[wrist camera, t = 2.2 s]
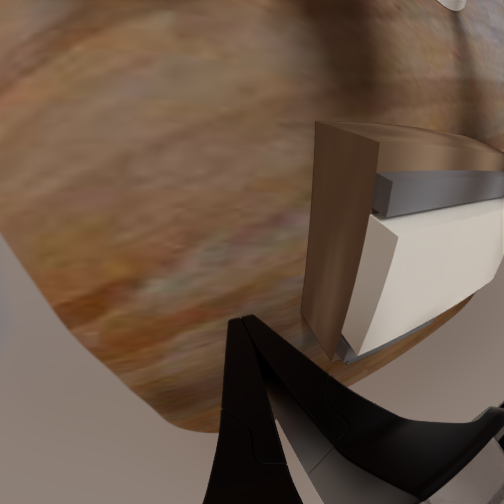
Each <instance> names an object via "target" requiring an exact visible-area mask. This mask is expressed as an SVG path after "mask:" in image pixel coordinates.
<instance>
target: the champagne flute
mask: <svg viewBox="0 0 504 504" xmlns="http://www.w3.org/2000/svg"><path fill="white" fill-rule="evenodd" d="M437 1H438V2H440V3H441V4H442V5H443V6H445V7H446V8H448V9H450V10H453V11H460V10H462V9H463V8H464V6H465V4H466V0H437Z"/></svg>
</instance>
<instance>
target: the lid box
mask: <svg viewBox="0 0 504 504" xmlns="http://www.w3.org/2000/svg"><path fill="white" fill-rule="evenodd" d="M503 196H504V152H502V151H500V150H498V149H496V148H494V147H491V146H489V145H487V144H485V143H482V142H480V141H478V140H475V139H473V138H471V137H467V136H463V135H458V134H452V133H447V132H441V131H435V130H429V129H422V128H414V127H406V126H397V125H387V124H376V123H361V122H339V121H316V124H315V152H314V172H313V189H312V204H311V218H310V230H309V241H308V252H307V262H306V272H305V281H304V290H303V298H302V306H301V314H302V315H303V317H304V318H305V320H306V322H307V323H308V325H309V326H310V328H311V330H312V331H313V333H314V334H315V336H316V338H317V339H318V341H319V342H320V344H321V346H322V347H323V349H324V350H325V352H326V354H327V355H328V357H329V358H330V360H331V362H333V361H336V360H338V359H341V361H342V362H343V363H344V362H346V361H349V360H351V359H354V358H356V357H358V356H357V354H356V353H355V352H354V350H353V349H352V347H351V346H350V344H349V343H348V341H347V340H346V339H345V337H344V336H343V334H342V333H341V332H342V328H343V325H344V322H345V318H346V315H347V311H348V308H349V304H350V300H351V297H352V293H353V289H354V285H355V281H356V277H357V273H358V268H359V264H360V260H361V255H362V251H363V246H364V241H365V236H366V231H367V226H368V221H369V215H371V214H377V213H381V214H382V215H383V216H385V217H392V216H397V215H403V214H408V213H413V212H419V211H424V210H430V209H435V208H441V207H446V206H452V205H458V204H463V203H469V202H474V201H480V200H486V199H491V198H497V197H503ZM477 291H478V290H477ZM474 293H475V292H474ZM474 293H473V294H474ZM471 295H472V294H471ZM471 295H470V296H471ZM468 297H469V296H468ZM468 297H467V298H468ZM465 299H466V298H465ZM462 301H463V300H462ZM460 302H461V301H460ZM460 302H459V303H460ZM457 304H458V303H457ZM457 304H456V305H457ZM454 306H455V305H454ZM451 308H452V307H451ZM449 309H450V308H449ZM449 309H448V310H449ZM446 311H447V310H446ZM444 312H445V311H444ZM444 312H443V313H444ZM441 314H442V313H441ZM439 315H440V314H439ZM439 315H438V316H439ZM436 317H437V316H436ZM434 318H435V317H434ZM432 319H433V318H432ZM432 319H431V320H432ZM429 321H430V320H429ZM427 322H428V321H427ZM425 323H426V322H425ZM425 323H424V324H425ZM422 325H423V324H422ZM420 326H421V325H420ZM418 327H419V326H418ZM416 328H417V327H416ZM416 328H414V329H416ZM414 329H412V330H414ZM412 330H411V331H412ZM409 332H410V331H409ZM407 333H408V332H407ZM405 334H406V333H405ZM403 335H404V334H403ZM401 336H402V335H401ZM399 337H400V336H399ZM397 338H398V337H397ZM395 339H396V338H395ZM393 340H394V339H393ZM391 341H392V340H391ZM389 342H390V341H389ZM387 343H388V342H387ZM385 344H386V343H385ZM383 345H384V344H383ZM381 346H382V345H381ZM379 347H380V346H379ZM376 348H378V347H376ZM376 348H374V349H376ZM374 349H372V350H374ZM370 351H371V350H370ZM368 352H369V351H368ZM366 353H367V352H366ZM363 354H365V353H363ZM363 354H361V355H363ZM359 356H360V355H359Z"/></svg>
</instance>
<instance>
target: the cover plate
mask: <svg viewBox="0 0 504 504" xmlns="http://www.w3.org/2000/svg"><path fill="white" fill-rule="evenodd" d="M503 256H504V196H503V197H497V198H491V199H486V200H480V201H474V202H469V203H463V204H458V205H452V206H446V207H441V208H435V209H430V210H424V211H419V212H413V213H408V214H403V215H397V216H392V217H385V216H383V215H382V214H381V213H377V214H371V215H369V221H368V226H367V231H366V236H365V241H364V246H363V251H362V255H361V260H360V264H359V268H358V273H357V277H356V281H355V285H354V289H353V293H352V297H351V300H350V304H349V308H348V311H347V315H346V318H345V322H344V325H343V328H342V332H341V333H342V334H343V336H344V337H345V339H346V340H347V341H348V343H349V344H350V346H351V347H352V349H353V350H354V352H355V353H356V354H357V356H359V355H361V354H363V353H366V352H368V351H370V350H372V349H374V348H376V347H379V346H381V345H383V344H385V343H387V342H389V341H391V340H393V339H395V338H397V337H399V336H401V335H403V334H405V333H407V332H409V331H411V330H412V329H414V328H416V327H418V326H420V325H422V324H424V323H425V322H427V321H429V320H431V319H432V318H434V317H436V316H438V315H439V314H441V313H443V312H444V311H446V310H448V309H449V308H451V307H453V306H454V305H456V304H457V303H459V302H460V301H462V300H464V299H465V298H467V297H468V296H470V295H471V294H473V293H474V292H476V291H477V290H479V289H480V288H482V287H483V286H484V285H486V284H487V283H489V282H490V281H491V280H493V278H494V276H495V274H496V271H497V269H498V267H499V265H500V263H501V260H502V258H503Z"/></svg>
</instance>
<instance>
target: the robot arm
mask: <svg viewBox="0 0 504 504" xmlns="http://www.w3.org/2000/svg"><path fill="white" fill-rule="evenodd" d="M271 408H272V409H271ZM221 409H222V410H221V417H220V428H219V437H218V442H217V447H216V453H215V457H214V461H213V466H212V470H211V474H210V479H209V483H208V487H207V491H206V494H205V497H204V501H203V503H202V504H303V502H302V500H301V498H300V496H299V494H298V492H297V490H296V487H295V485H294V483H293V480H292V478H291V475H290V472H289V469H288V466H287V465H286V464H287V462H286V459H285V455H284V452H283V448H282V445H281V441H280V438H279V434H278V431H277V427H276V424H275V420H274V417H273V413H272V410H273V412H274V414H275V416H276V418H277V420H278V422H279V424H280V426H281V428H282V429H283V431H284V433H285V435H286V437H287V439H288V441H289V443H290V444H291V446H292V448H293V450H294V452H295V454H296V455H297V457H298V459H299V461H300V462H301V464H302V466H303V468H304V469H305V471H306V473H307V474H308V477H309V478H310V480H311V482H312V484H313V485H314V487H315V489H316V490H317V492H318V494H319V495H320V497H321V499H322V501H323V502H324V504H504V401H503V402H502V403H501V404H500V405H499V406H498V407H492V406H491V407H488V408H487V409H485V410H484V411H483V412H482V413H481V414H479V415H478V416H477V417H476V418H474V419H473V420H472V421H471V422H469V423H444V422H442V423H441V422H427V421H415V420H410V419H406V418H403V417H400V416H398V415H396V414H394V413H392V412H390V411H388V410H386V409H384V408H382V407H380V406H378V405H377V404H375V403H373V402H371V401H369V400H367V399H365V398H364V397H362V396H360V395H359V394H357V393H355V392H354V391H352V390H350V389H349V388H348V387H346V386H345V385H343V384H342V383H340V382H339V381H338V380H336V379H335V378H334V377H332V376H331V375H330V376H329V374H328V373H327V372H326V371H324V370H323V369H322V368H320V367H319V366H318V365H316V364H315V363H314V362H312V361H311V360H310V359H309V358H307V357H306V356H305V355H303V354H302V353H301V352H300V351H298V350H297V349H296V348H295V347H293V346H292V345H291V344H289V343H288V342H287V341H286V340H284V339H283V338H282V337H281V336H279V335H278V334H277V333H276V332H274V331H273V330H272V329H271V328H270V327H268V326H267V325H266V324H265V323H263V322H262V321H261V320H260V319H259V318H257V317H256V316H255V315H253V314H251V315H247V316H243V317H241V318H234V319H230V320H229V321H228V328H227V340H226V352H225V365H224V377H223V391H222V404H221Z"/></svg>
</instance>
